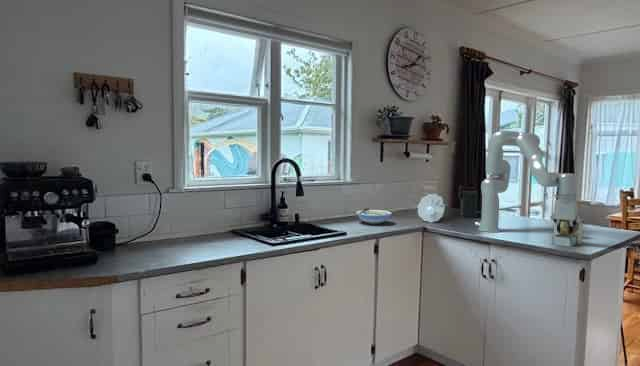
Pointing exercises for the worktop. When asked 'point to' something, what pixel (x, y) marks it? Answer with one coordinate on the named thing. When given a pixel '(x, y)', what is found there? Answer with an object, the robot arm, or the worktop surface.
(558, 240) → the cream block
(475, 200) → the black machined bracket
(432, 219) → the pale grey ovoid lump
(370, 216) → the ramen bowl
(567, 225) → the tan cylinder
